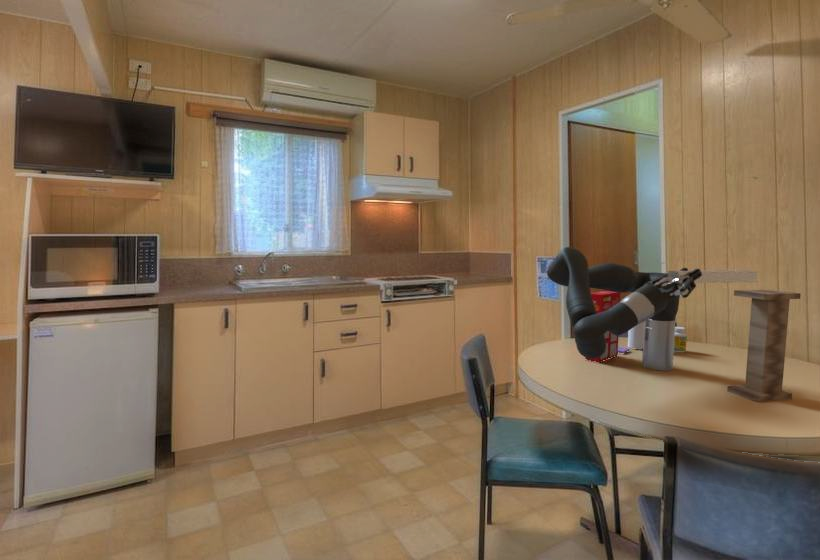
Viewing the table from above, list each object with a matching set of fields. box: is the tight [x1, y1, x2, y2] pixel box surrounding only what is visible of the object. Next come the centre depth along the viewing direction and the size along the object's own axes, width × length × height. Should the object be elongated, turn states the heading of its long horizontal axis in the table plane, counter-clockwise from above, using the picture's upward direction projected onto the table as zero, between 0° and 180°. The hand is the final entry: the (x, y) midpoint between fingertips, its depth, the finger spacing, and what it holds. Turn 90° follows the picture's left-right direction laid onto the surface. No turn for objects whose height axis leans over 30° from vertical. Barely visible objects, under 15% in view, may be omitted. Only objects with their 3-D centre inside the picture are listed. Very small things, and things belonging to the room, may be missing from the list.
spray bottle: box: [627, 321, 645, 349], centre depth 180 cm, size 7×7×25 cm
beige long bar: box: [667, 269, 758, 284], centre depth 115 cm, size 24×4×3 cm, turn 101°
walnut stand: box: [726, 289, 801, 403], centre depth 125 cm, size 12×9×30 cm
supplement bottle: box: [674, 326, 688, 353], centre depth 176 cm, size 5×5×10 cm
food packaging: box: [584, 290, 622, 363], centre depth 164 cm, size 15×5×25 cm, turn 130°
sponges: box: [618, 346, 631, 354], centre depth 178 cm, size 7×13×2 cm, turn 43°
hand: (693, 271), depth 114 cm, fingers closed on beige long bar, 3 cm apart
